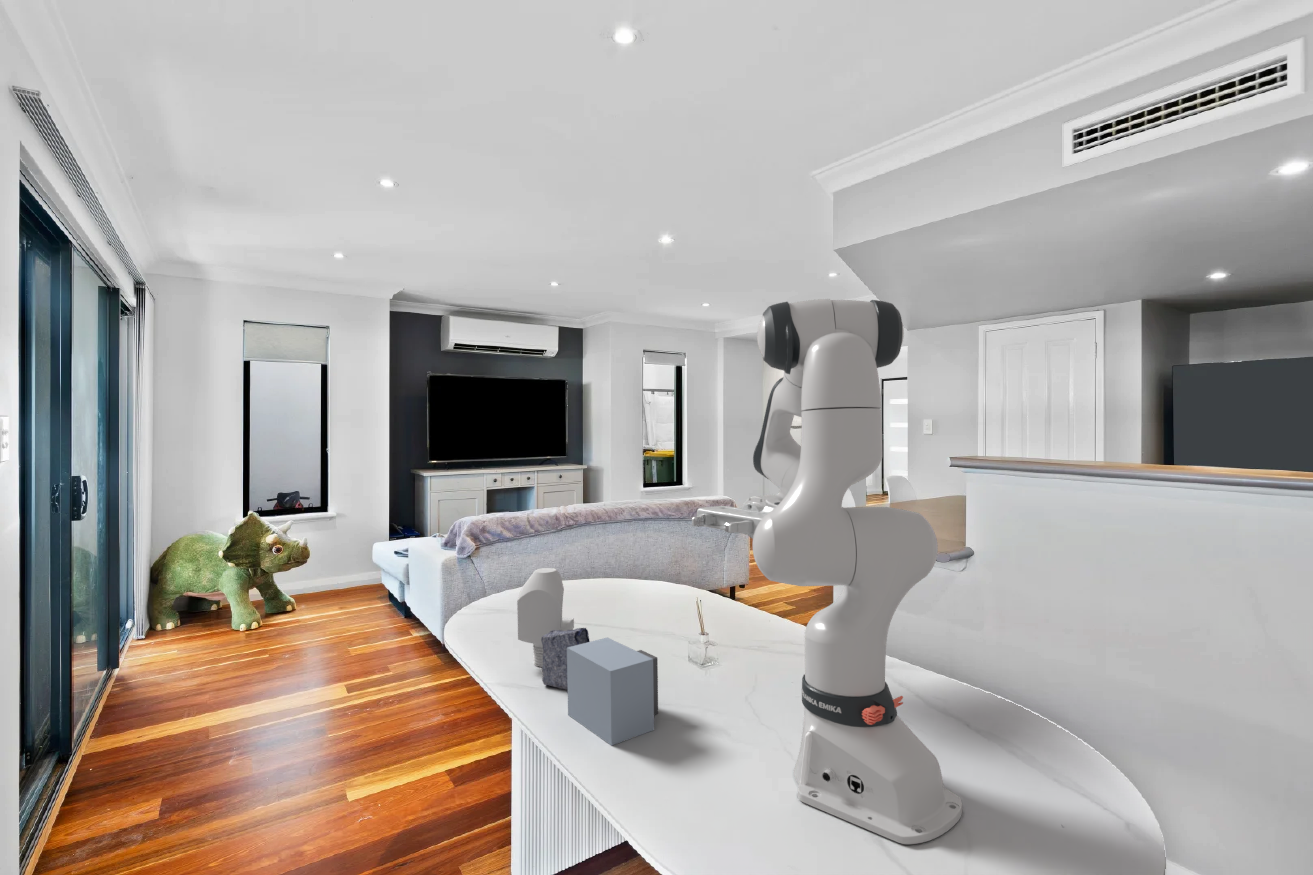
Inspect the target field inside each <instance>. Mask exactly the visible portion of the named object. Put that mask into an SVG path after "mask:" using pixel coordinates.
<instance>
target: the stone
mask: <svg viewBox="0 0 1313 875" xmlns="http://www.w3.org/2000/svg"><path fill="white" fill-rule="evenodd" d="M541 642H542V646H543V666H542V667H541V670H542V677H541V678H542V679H541V681H542V683H543V685H545V686H551V687H552V688H558V689H559V690H560V689H561V690H562V689H563V690H566V691H568V684H567V647H571V646H575V645H579V644H583V643H587V642H591V641H590V635H589V631H588V629H587V627H578V628H573V630H567V631H561V630H551V631H550V632H549V633H548V634H545V635H543V636H542V638H541Z"/></svg>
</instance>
